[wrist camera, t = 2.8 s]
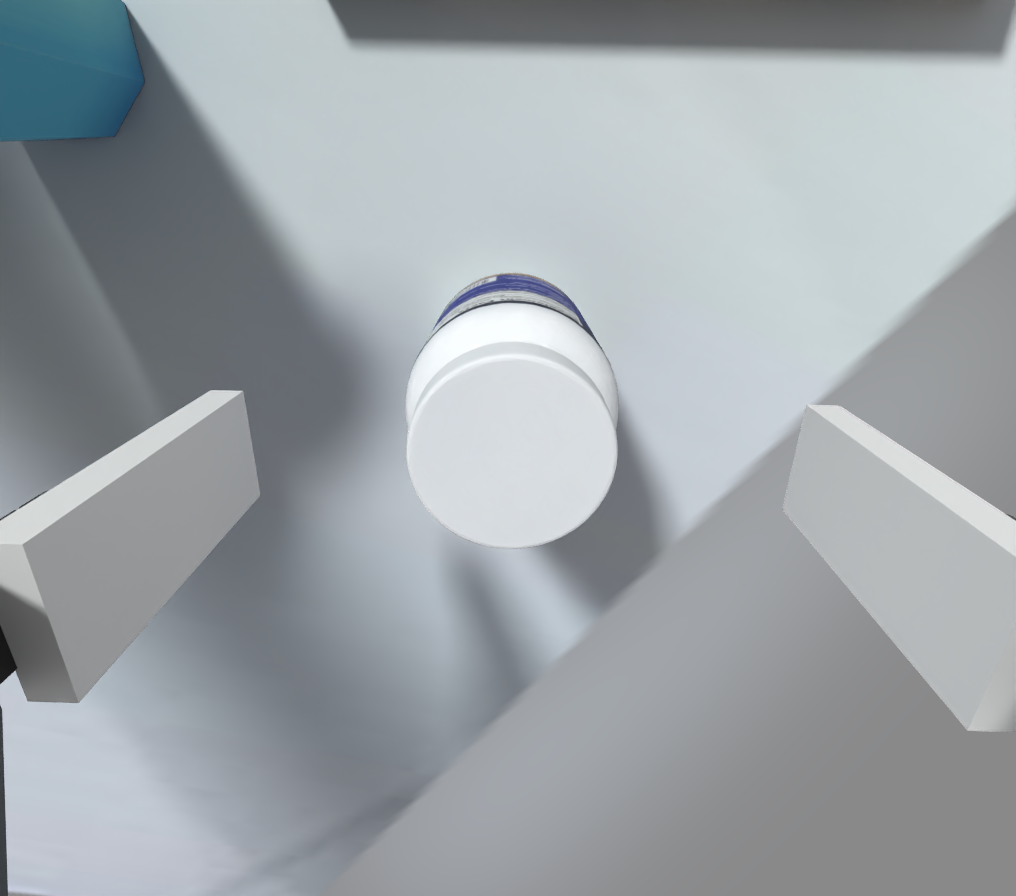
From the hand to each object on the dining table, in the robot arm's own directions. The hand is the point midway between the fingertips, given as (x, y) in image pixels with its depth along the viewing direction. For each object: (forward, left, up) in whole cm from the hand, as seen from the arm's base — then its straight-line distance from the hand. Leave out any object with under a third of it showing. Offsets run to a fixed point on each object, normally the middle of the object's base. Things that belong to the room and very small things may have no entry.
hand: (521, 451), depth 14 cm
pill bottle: (0, 0, -9) cm, 9 cm away
